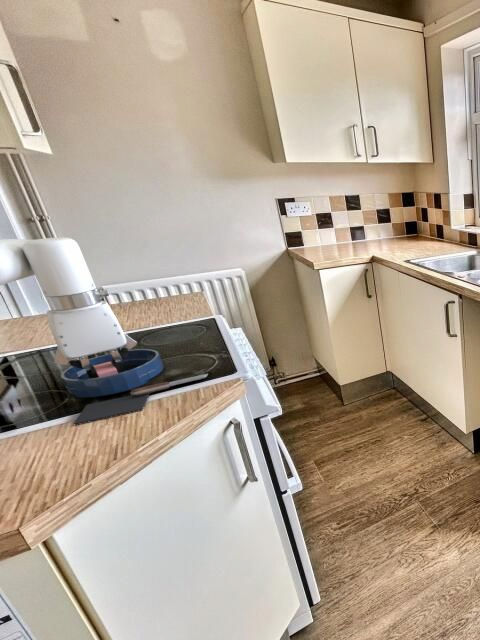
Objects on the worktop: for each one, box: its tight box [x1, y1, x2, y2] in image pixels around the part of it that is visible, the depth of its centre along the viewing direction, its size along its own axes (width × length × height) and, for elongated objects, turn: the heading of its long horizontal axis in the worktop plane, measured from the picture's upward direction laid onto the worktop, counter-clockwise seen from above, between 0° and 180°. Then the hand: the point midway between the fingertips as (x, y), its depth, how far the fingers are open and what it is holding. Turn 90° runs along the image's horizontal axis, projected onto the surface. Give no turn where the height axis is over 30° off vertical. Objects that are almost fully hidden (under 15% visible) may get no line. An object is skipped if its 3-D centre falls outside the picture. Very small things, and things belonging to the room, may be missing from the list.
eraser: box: [94, 361, 118, 377], centre depth 92 cm, size 3×6×4 cm, turn 50°
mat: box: [72, 393, 151, 426], centre depth 83 cm, size 10×8×1 cm
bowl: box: [60, 348, 165, 398], centre depth 93 cm, size 16×16×4 cm
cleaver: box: [129, 373, 209, 396], centre depth 91 cm, size 13×2×5 cm
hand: (109, 380), depth 92 cm, fingers closed on eraser, 3 cm apart
